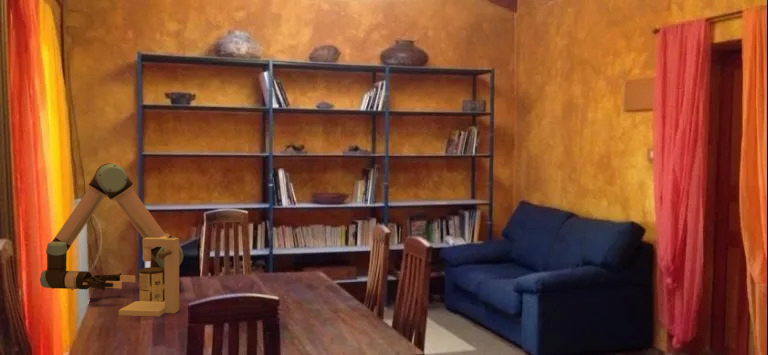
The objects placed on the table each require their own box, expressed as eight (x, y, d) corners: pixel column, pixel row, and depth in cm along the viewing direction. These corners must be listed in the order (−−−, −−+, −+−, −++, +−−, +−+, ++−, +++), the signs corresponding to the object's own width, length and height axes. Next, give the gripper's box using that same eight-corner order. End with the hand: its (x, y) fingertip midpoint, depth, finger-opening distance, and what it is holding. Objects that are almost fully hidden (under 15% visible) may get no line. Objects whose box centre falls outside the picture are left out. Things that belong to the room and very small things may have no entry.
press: (135, 305, 285) (135, 235, 284) (183, 307, 284) (183, 236, 283) (114, 317, 265) (113, 241, 264) (165, 319, 264) (165, 242, 263)
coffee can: (149, 298, 298) (149, 266, 298) (170, 300, 295) (169, 267, 295) (133, 304, 289) (133, 270, 288) (154, 306, 285) (154, 271, 285)
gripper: (93, 283, 306) (140, 285, 305) (63, 295, 281) (115, 296, 280) (93, 266, 306) (140, 268, 304) (63, 276, 281) (115, 278, 279)
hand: (128, 281), depth 292 cm, fingers open, 13 cm apart
